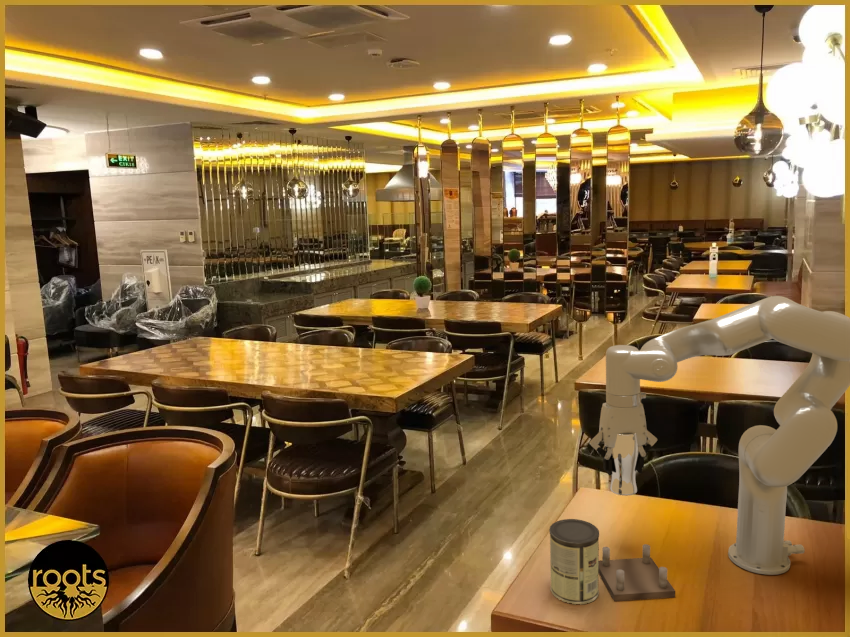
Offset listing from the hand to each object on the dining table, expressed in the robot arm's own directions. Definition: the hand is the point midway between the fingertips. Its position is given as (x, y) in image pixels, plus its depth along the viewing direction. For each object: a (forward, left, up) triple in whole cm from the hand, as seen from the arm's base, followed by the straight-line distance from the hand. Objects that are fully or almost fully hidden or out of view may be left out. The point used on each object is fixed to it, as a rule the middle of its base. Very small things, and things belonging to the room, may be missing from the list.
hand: (623, 471), depth 151 cm
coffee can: (+16, +16, -20) cm, 30 cm away
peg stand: (+2, +14, -20) cm, 24 cm away
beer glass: (0, 0, -5) cm, 5 cm away
